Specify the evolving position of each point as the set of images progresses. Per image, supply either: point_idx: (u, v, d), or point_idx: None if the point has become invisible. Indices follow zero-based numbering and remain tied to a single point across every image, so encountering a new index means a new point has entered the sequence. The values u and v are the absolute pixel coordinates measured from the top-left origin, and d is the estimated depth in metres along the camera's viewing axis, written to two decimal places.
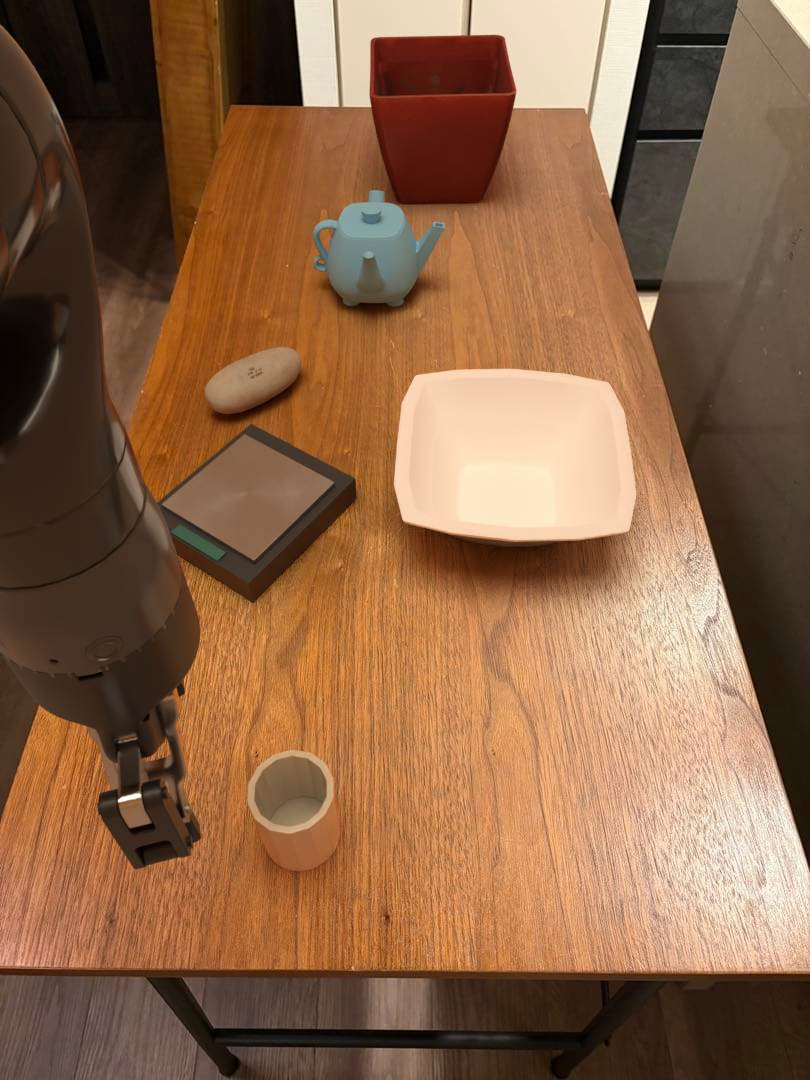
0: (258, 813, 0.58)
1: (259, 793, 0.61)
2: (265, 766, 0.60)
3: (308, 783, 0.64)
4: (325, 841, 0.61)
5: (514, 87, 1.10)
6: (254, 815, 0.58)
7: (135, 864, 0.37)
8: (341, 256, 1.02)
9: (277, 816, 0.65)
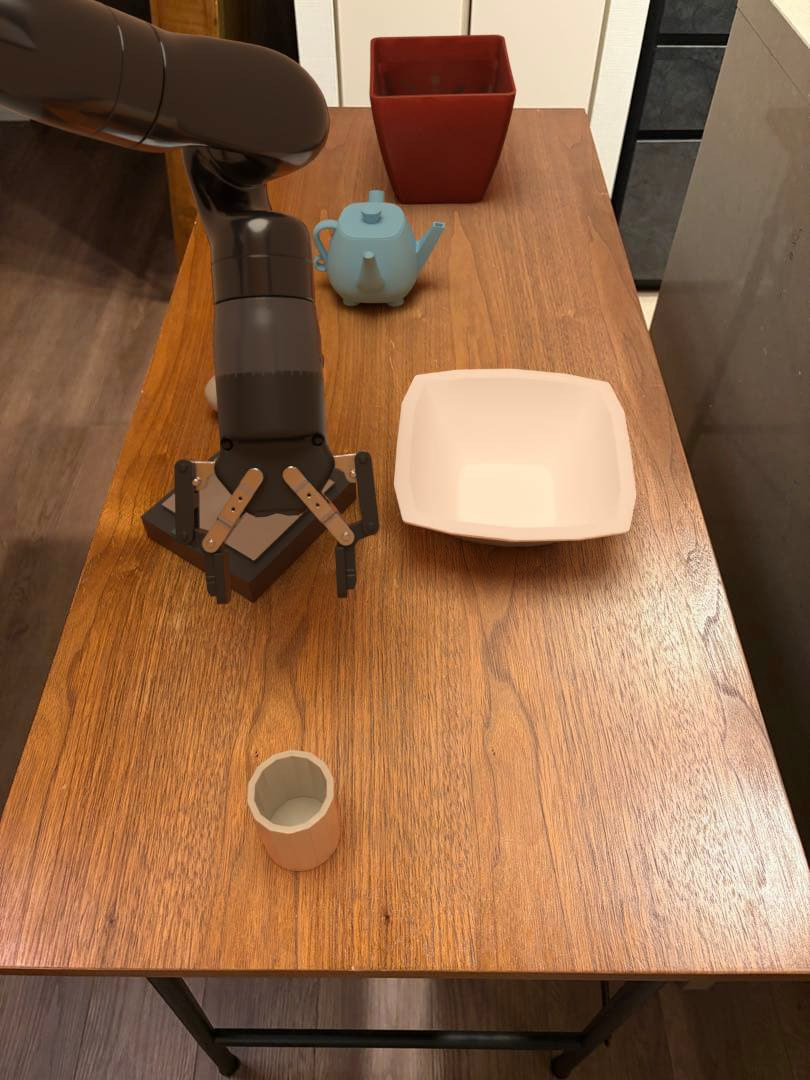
0: (258, 813, 0.58)
1: (259, 793, 0.61)
2: (265, 766, 0.60)
3: (308, 783, 0.64)
4: (325, 841, 0.61)
5: (514, 87, 1.10)
6: (254, 815, 0.58)
7: (378, 521, 0.60)
8: (341, 256, 1.02)
9: (277, 816, 0.65)
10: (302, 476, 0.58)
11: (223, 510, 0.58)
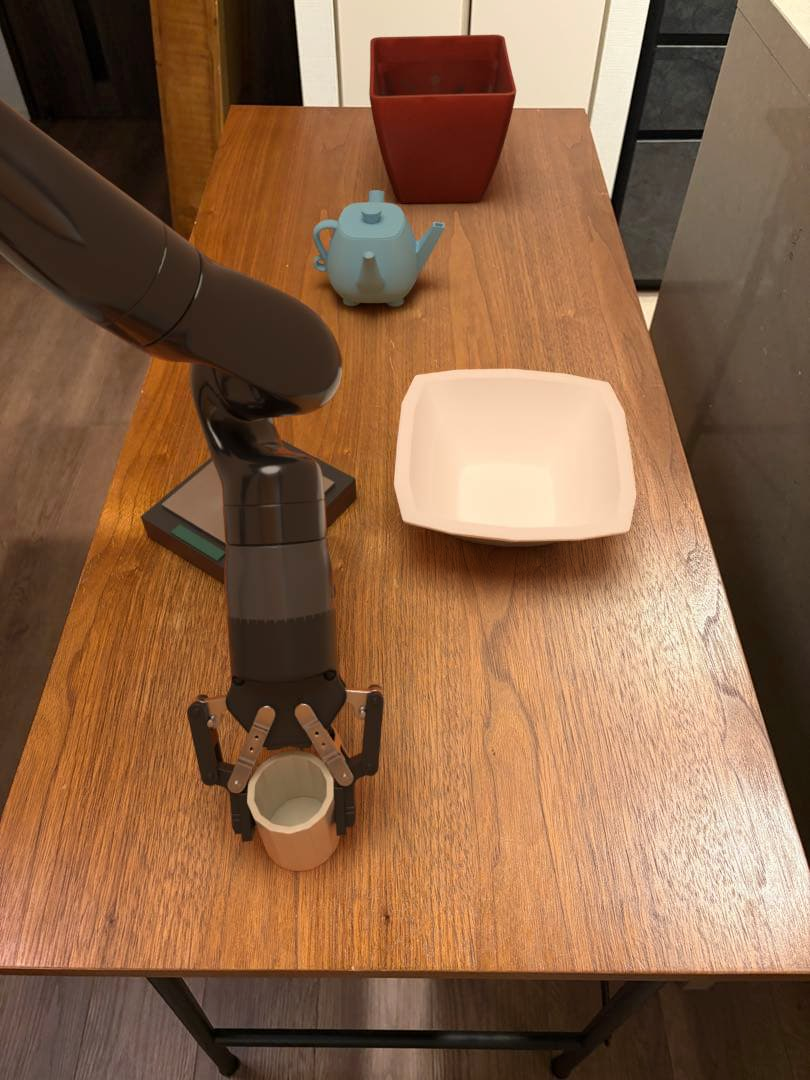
0: (258, 813, 0.58)
1: (259, 793, 0.61)
2: (265, 766, 0.60)
3: (308, 783, 0.64)
4: (325, 841, 0.61)
5: (514, 87, 1.10)
6: (254, 815, 0.58)
7: (378, 763, 0.59)
8: (341, 256, 1.02)
9: (277, 816, 0.65)
10: (314, 713, 0.58)
11: (242, 752, 0.58)
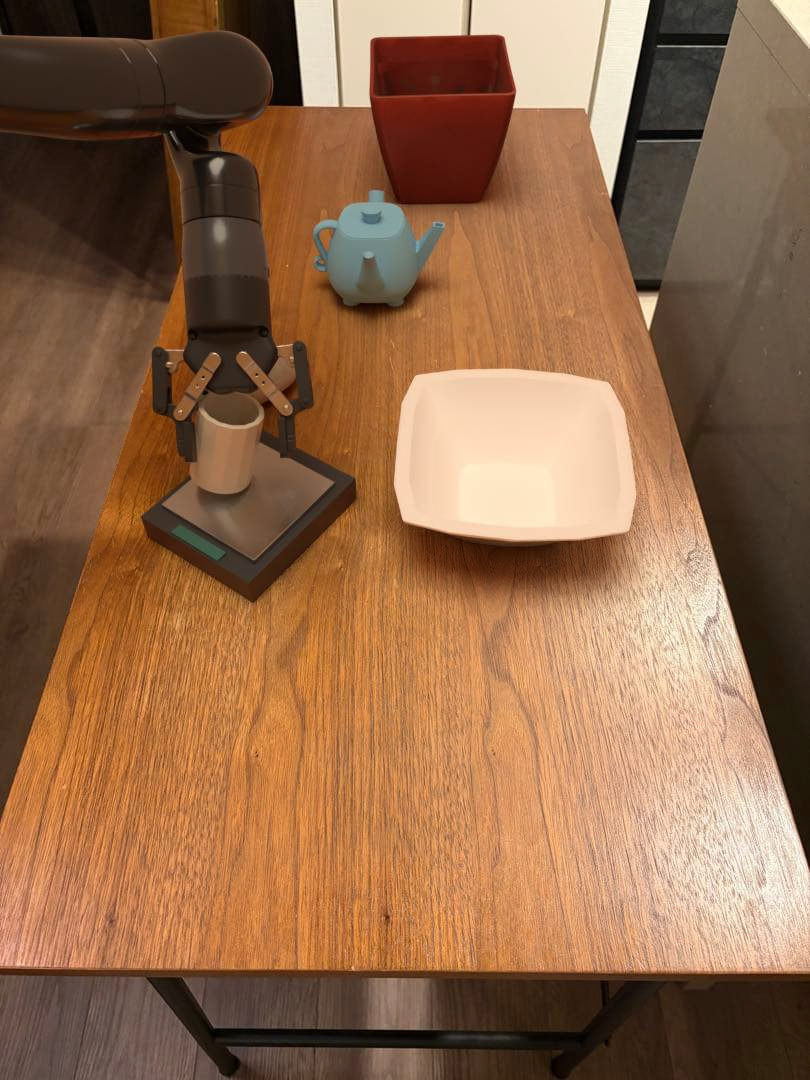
0: (202, 407, 0.77)
1: (207, 410, 0.80)
2: None
3: None
4: (236, 465, 0.79)
5: (514, 87, 1.10)
6: (199, 407, 0.77)
7: (312, 397, 0.76)
8: (341, 256, 1.02)
9: None
10: (251, 359, 0.75)
11: (189, 386, 0.75)
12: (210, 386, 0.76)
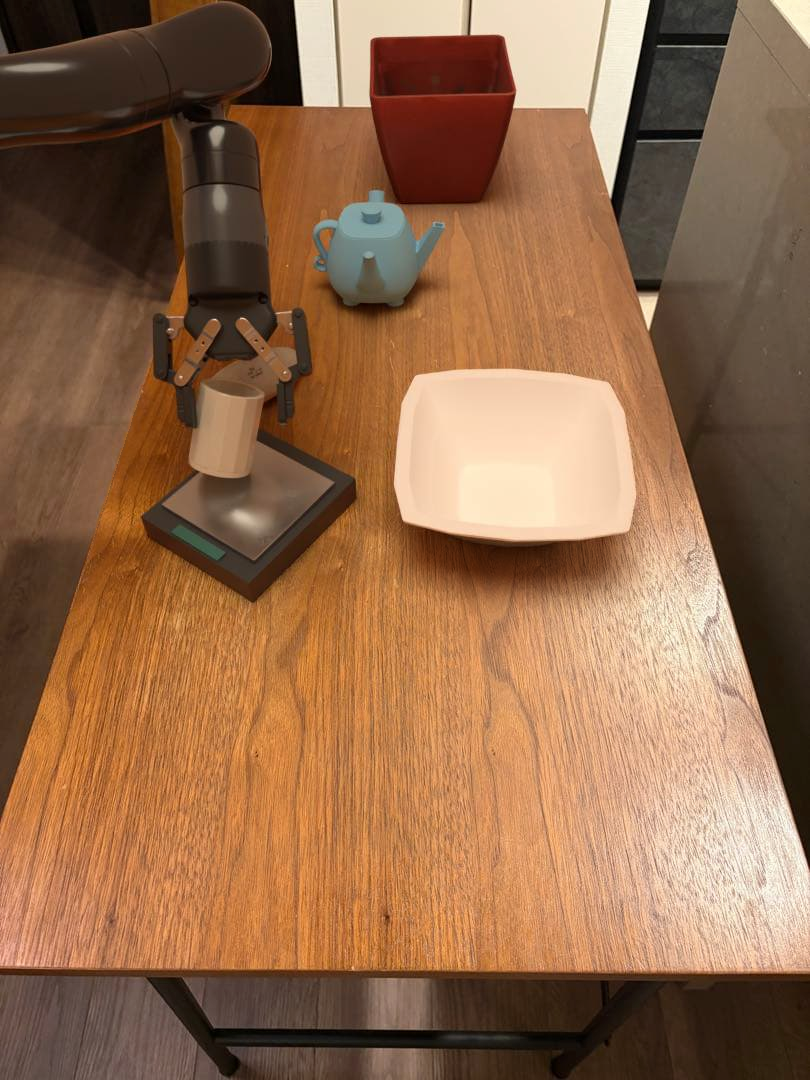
0: (204, 383, 0.79)
1: None
2: (224, 379, 0.82)
3: None
4: (234, 442, 0.79)
5: (514, 87, 1.10)
6: (201, 382, 0.79)
7: (310, 363, 0.77)
8: (341, 256, 1.02)
9: None
10: (250, 325, 0.76)
11: (190, 352, 0.76)
12: (210, 352, 0.77)
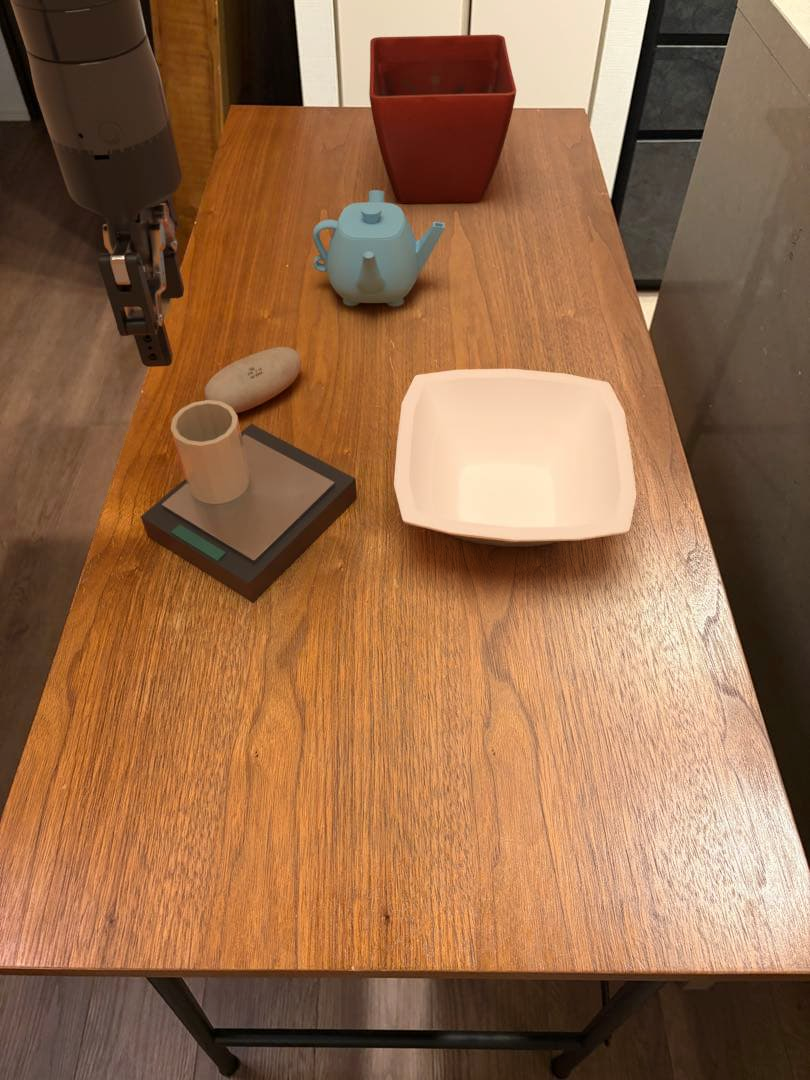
0: (178, 434, 0.76)
1: (182, 432, 0.79)
2: (186, 408, 0.79)
3: None
4: (232, 471, 0.80)
5: (514, 87, 1.10)
6: (175, 435, 0.76)
7: (120, 328, 0.57)
8: (341, 256, 1.02)
9: None
10: (105, 241, 0.58)
11: None
12: None
